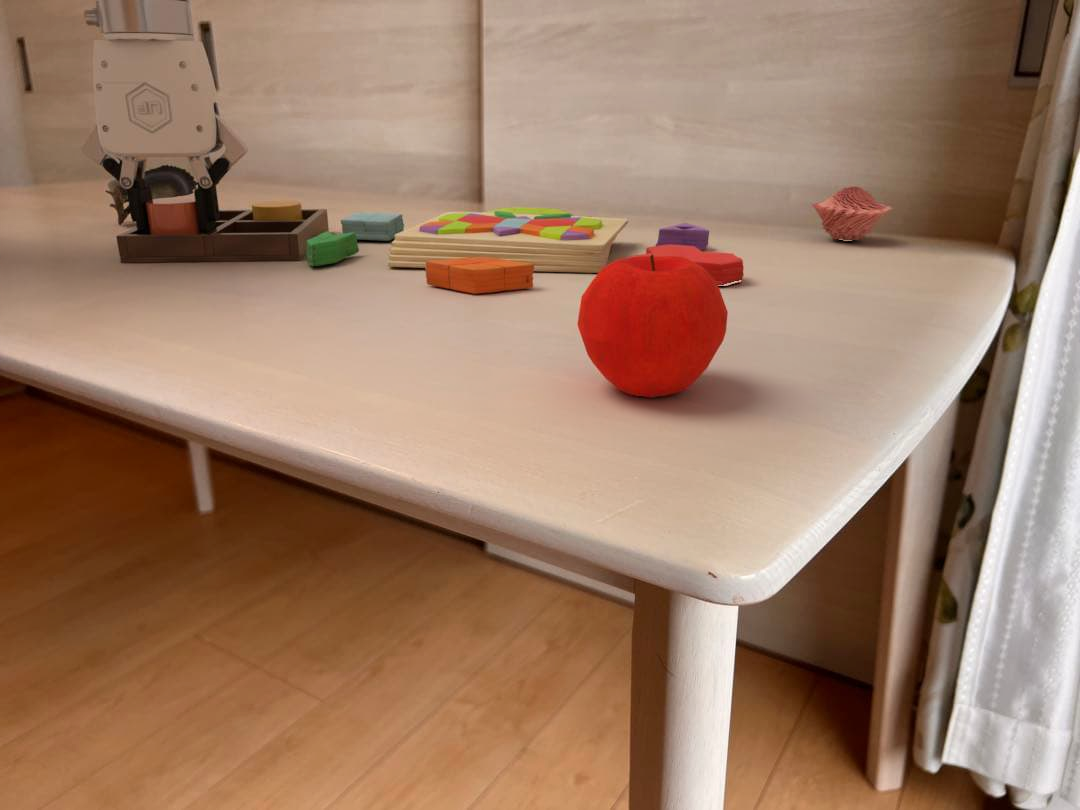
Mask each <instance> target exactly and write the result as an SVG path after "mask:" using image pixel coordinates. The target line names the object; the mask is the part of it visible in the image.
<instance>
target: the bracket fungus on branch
mask: <svg viewBox="0 0 1080 810" xmlns="http://www.w3.org/2000/svg"><path fill="white" fill-rule="evenodd" d="M144 180H145V185H149V187H150V188H151V192H152V199H158V198H170V197H187V196H189V195H192V194H194V190H195V189H197V186H198V184H197V182H198V181H196V179H195V177H194V176H193V175H192V174H191V173H190V172H189V171H187V170H186V169H185V168H181V167H178V166H176V165H174V166H173V165H169V164H162V165H160V166H157V167H156V168H149V170H145V175H144ZM107 188H108V189H109V190H108V189H107V190H105V193H107V194H110V196H111V197H112V199H113V202H114V203H109V207H110V208H113V209H115V211H116V212H117V223H118V225H119V226H120V225H122V224H124V223H125V220H127V218H128V216H129V215H131V213H130V207H129V204H128V205H127V206H126V207H124V204H126V203H129V201H128V195H127V189H125V188H123V187H122V186H121V185H120V182H119V181H118V180H117V179H116V178H111V179H110V180H109V181H108V182H107Z"/></svg>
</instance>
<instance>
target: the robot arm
mask: <svg viewBox="0 0 1080 810" xmlns="http://www.w3.org/2000/svg"><path fill="white" fill-rule="evenodd" d="M83 17H84V21H85V24H87V26H89V27H90V26H91V27H92V26H93V27H94V26H95V27H96V28H99V31H100V34H102V35H103V39H94V40H93V52H92V53H93V54H92V55H93V56H92V71H93V72H92V73H93V74H92V77H93V78H92V79H93V81H92V82H93V97H94V109H95V120H96V125H95V127H94V129H93V130H92V132H91V134H90V135H89V137H88V138H87V140H86V141H85V143H84V145H83V146H82V153H83V154H84V155H85V156H87V157H88V158H89V159H90V160H92V161H94V162H95V163H96V164H98V165H99V166H101V167H103V169H104V170H105V171H106V172H107V173H108V174H109V175H111V176H112V177H113V179H117V180H118V181H119V182H120V185H121V186H122V187H123V188H125V189H127V195H128V201H129V202H128V205H129V207H130V217H131V220H132V222H133V223H134V222H135V223H136V225H135V226H136V227H137V230H138V232H145V231H147V230H150V229H149V223H148V217H147V211H146V204H145V202H146V201H148V200H152V192H151V188H150V187H149V185H145V180H144V175H145V171H146V168H147V160H148V158H187V159H188V162H189V165H190V167H191V169H192V171H193V173H194V176H195V178H196V180H197V181H196V182H197V187H196V189H194V190H193V194H194V198H195V203H196V210H197V217H198V225H199V229H200V230H201V231H209V230H211V229H213V228H215V227H216V221H219V218H220V214H219V210H220V205H219V199H218V192H217V191H218V190H217V185H219V184H220V182H221V181H222V179H223V178H224V177H225V176H226V175H227V173H228V172H229V171H230V170H231V169H232V167H233V166H234V165H236V164H237V163H238V162H239V161H240V160H241V159H242V158H243V157H244V156H246V154H247V153H248V152H249V147H248V146H247V144H246V143H245V142H244V141H243V140H242V139H241V138H240V137H239V136H238V134H237V133H236V132H235V131H234V130H233V129H232V128H231V127H230V126H229V125H228V124H227V123H226V121H224V119H223V118H222V113H221V109H220V103H219V98H218V93H217V89H216V85H215V81H214V77H213V73H212V69H211V65H210V62H209V58H208V55H207V52H206V49H205V47H204V44H203V41H199V40H196V36H195V29H194V22H193V21H194V20H193V14H192V7H191V0H95V7H93V8H92V9H85V10H84V12H83ZM223 146H225V151H224V152H223V153H222V155H220V156H219V157H218V158H216V160H215V161H213V159H212V156H211V153H216V152H218V151H219V150H221V149H222V148H223ZM120 157H122V158H120Z"/></svg>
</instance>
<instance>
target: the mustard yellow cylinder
mask: <svg viewBox="0 0 1080 810" xmlns="http://www.w3.org/2000/svg"><path fill="white" fill-rule="evenodd" d="M302 209H303V208H302V202H300V201H298V200H285V199H283V200H282V199H281V200H265V201H257V202H254V203H252V204H251V210H252V212H253V220H303V217H302Z"/></svg>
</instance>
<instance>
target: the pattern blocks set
mask: <svg viewBox="0 0 1080 810" xmlns="http://www.w3.org/2000/svg"><path fill="white" fill-rule="evenodd" d="M628 223H629V219H628V218H625V217H624V218H623V217H622V218H621V217H604V216H602V217H601V216H583V215H581V216H579V215H574V214H573V213H570V212H567V211H564V210H561V209H559V208H555V207H553V208H552V207H515V206H514V207H512V206H510V207H509V206H508V207H503V208H498V209H493V210H487V211H483V212H481V211H479V212H478V211H447V212H444V213H441V214H439V215H438V216H435V217H431V218H430V219H428V220H426V221H423V222H421V223H418V224H417V225H414V226H412V227H409V228H406V229H404V228H405V223H404V219H403V214H402V213H387V212H386V213H385V212H384V213H383V212H380V213H379V212H366V211H365V212H361V211H358V212H355V213H353V214H351V215H348V216H346V217H343V218H341V219H340V224H341V231H342V233H339V234H332V233H331V232H330V230H329V231H327V232H324V233H322V234H319V235H318V236H316V237H314V238H311V239H309V240H307V241H306V244H307V254H306V262H307V263H308V264H309V265H310V266H311V267H319V266H324V265H332V264H336V263H338V262H340V261H342V260H344V259H346V258H348V257H352V256H353V255H356V254H358V253H359V252H360V248H359V244H358V240H361V241H362V240H365V241H385V242H388V241H391V240H393V239H394V240H393V241H391V247H390V248H389V254H388V261H387V266H388V267H390V268H414V269H425V270H424V271H425V278H426V284H427V285H428V286H433V287H439V288H443V289H450V290H453V291H457V292H463V293H468V294H474V295H475V294H476V295H477V294H486V293H499V292H503V291H504V292H505V291H515V290H525V289H526V290H527V289H532V288H533V286H534V272H547V273H548V272H551V273H555V272H556V273H590V274H592V273H593V274H598V273H599V272H600V270H601V269H602V268H603V267H605V266H607V265H608V260H609V255H610V252H611V247H612V245H613V243H614V242H615V240H616V238H617V236H618V235H619V234H620V233H621V232H622V231H623V229H624V228H625V227H626V226H627V225H628ZM709 237H710V230H709V229H706V228H703V227H701V226H698V225H694V224H690V223H687V222H683V223H680V224H675V225H671V226H666V227H662V228H659V230H658V236H657V241H656V243H655V245H653V246H647V247H645V253H641V254H635V255H634V254H633V255H631V256H629V258H631V257H640V256H649V257H650V256H651V255H652V254H653V257H663V256H680V257H684V258H686V259H688V260H691V261H693V262H695V263H697V264H698V265H700V266H702V267H703V268H704V269H706V270H707V271H708V273H709V274H710V275H711V276H712V278H713V279H714V280H715V281H716V283H717V284H718V285H724V284H727V283H731V282H734V281H739V280H742V281H743V277H744V276H745V274H744V261H743V259H742V258H741V257H739V256H737V255H736V254H734V253H730V252H721V251H720V252H718V251H707V250H708V245H709Z"/></svg>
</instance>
